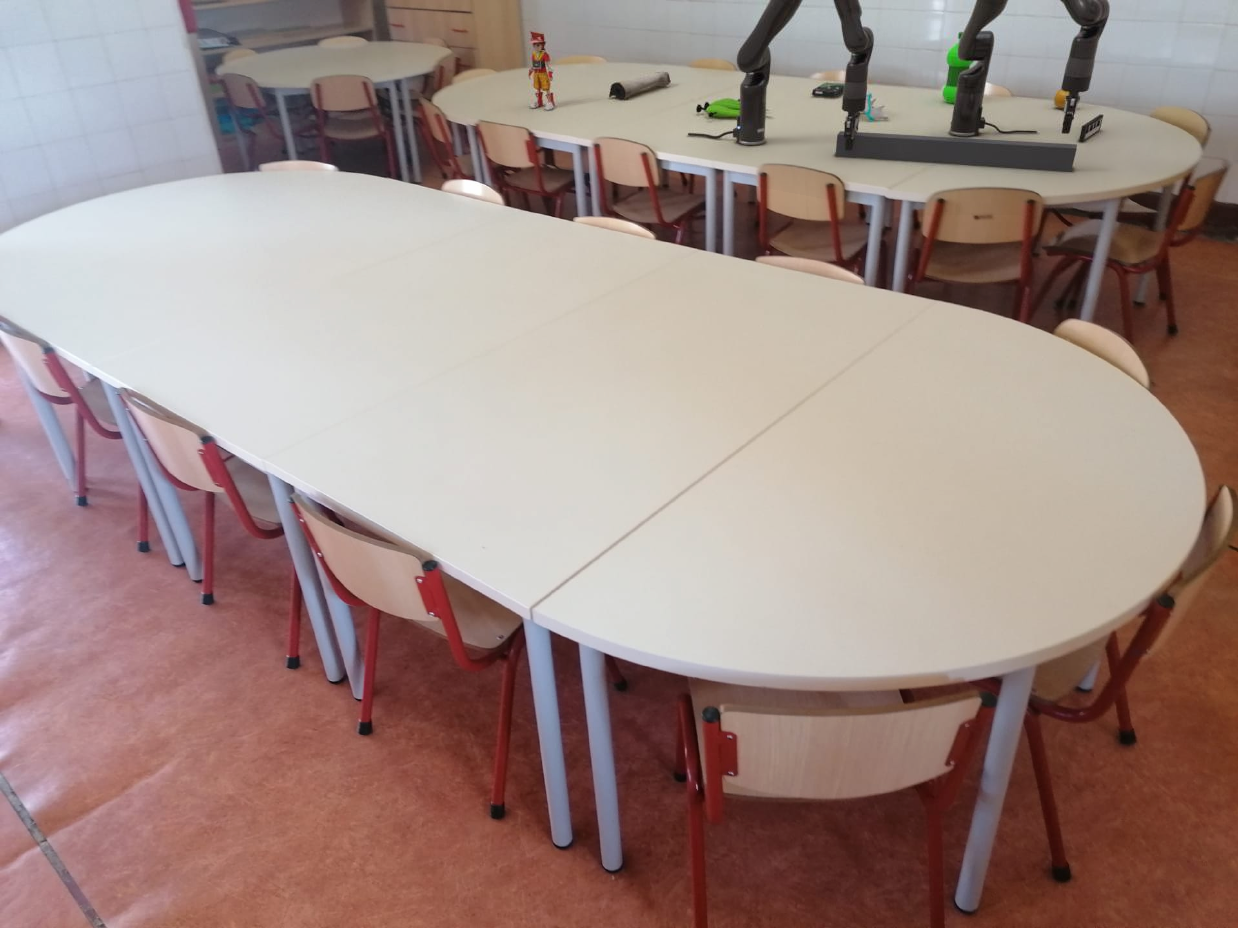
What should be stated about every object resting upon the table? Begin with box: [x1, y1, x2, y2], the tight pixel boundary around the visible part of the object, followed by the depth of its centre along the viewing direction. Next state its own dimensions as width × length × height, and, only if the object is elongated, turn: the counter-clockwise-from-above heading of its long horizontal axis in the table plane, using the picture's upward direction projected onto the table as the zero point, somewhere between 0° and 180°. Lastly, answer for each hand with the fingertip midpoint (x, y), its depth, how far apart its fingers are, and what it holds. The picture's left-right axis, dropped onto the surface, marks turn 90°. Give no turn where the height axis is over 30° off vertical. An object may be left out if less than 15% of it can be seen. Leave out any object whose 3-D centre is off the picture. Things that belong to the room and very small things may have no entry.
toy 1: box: [527, 31, 556, 111], centre depth 374 cm, size 12×9×30 cm
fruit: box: [1053, 89, 1080, 110], centre depth 337 cm, size 8×8×8 cm
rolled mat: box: [608, 71, 672, 101], centre depth 395 cm, size 30×9×10 cm
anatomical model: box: [860, 90, 889, 122], centre depth 341 cm, size 15×10×10 cm
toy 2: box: [696, 97, 771, 118], centre depth 355 cm, size 28×5×30 cm
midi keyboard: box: [1078, 113, 1104, 142], centre depth 307 cm, size 18×1×5 cm, turn 138°
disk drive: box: [811, 82, 845, 99], centre depth 376 cm, size 10×3×15 cm
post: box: [834, 130, 1078, 172], centre depth 291 cm, size 73×4×7 cm, turn 66°
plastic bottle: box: [942, 31, 974, 104], centre depth 348 cm, size 10×10×25 cm
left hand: (849, 147), depth 303 cm, fingers closed on post, 4 cm apart
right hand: (1065, 129), depth 275 cm, fingers open, 8 cm apart
